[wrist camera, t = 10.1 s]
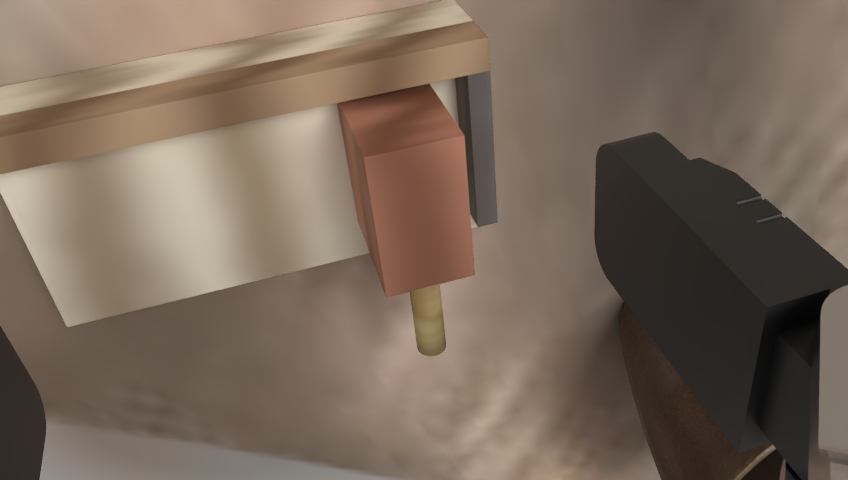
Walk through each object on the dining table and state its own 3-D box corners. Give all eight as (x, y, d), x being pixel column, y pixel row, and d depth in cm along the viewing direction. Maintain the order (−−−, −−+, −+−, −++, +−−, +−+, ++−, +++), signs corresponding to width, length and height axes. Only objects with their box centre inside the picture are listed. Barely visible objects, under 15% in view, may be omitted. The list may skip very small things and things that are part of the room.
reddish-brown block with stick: (422, 73, 35) (464, 135, 31) (444, 280, 43) (480, 355, 38) (334, 92, 35) (363, 157, 30) (371, 298, 42) (399, 377, 37)
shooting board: (452, -2, 37) (488, 37, 33) (467, 195, 44) (498, 246, 40) (-22, 91, 34) (-44, 146, 30) (72, 288, 40) (63, 355, 36)
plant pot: (683, 171, 47) (877, 353, 34) (810, 263, 55) (1006, 438, 42) (522, 347, 52) (641, 563, 39) (660, 408, 60) (796, 605, 47)
